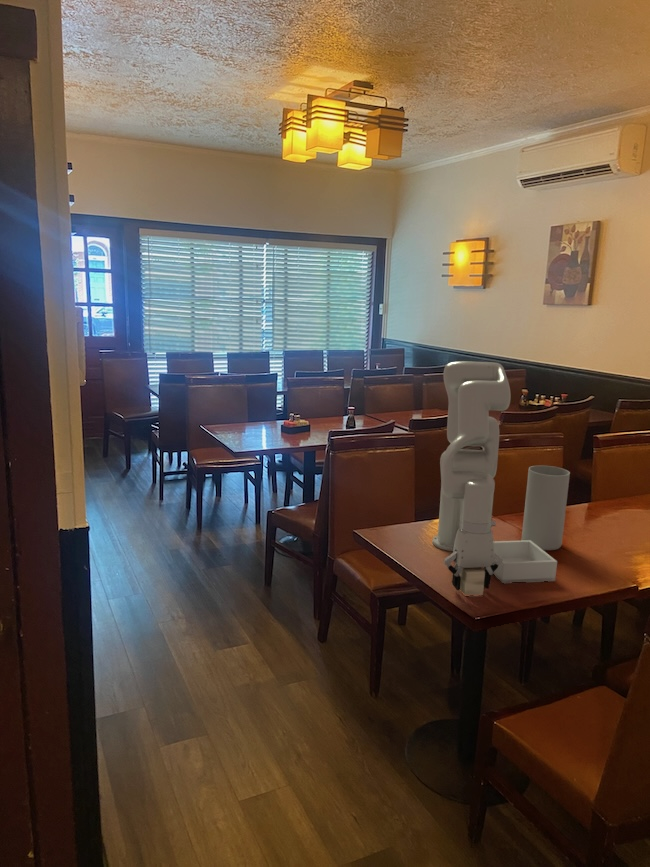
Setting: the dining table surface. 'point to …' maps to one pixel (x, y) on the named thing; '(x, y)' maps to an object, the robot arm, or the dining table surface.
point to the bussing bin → (523, 562)
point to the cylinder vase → (545, 506)
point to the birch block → (472, 581)
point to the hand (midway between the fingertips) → (470, 586)
